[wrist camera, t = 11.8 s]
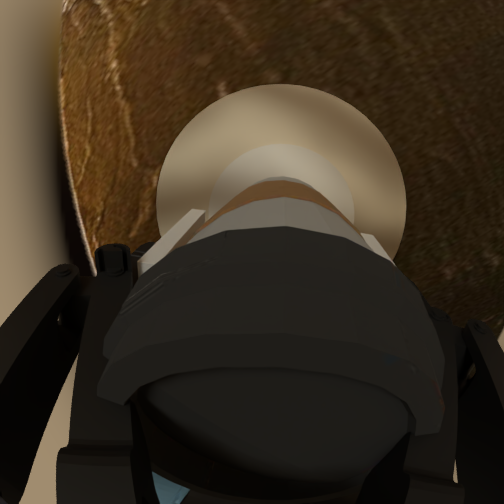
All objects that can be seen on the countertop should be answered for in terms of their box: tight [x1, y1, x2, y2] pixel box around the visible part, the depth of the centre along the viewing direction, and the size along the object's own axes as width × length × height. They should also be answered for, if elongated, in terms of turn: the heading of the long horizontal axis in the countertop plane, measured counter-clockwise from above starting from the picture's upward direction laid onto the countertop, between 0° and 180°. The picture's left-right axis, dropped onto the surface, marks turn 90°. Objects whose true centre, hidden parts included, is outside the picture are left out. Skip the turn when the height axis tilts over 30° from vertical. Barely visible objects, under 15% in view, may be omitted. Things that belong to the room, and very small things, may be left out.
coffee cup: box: [97, 176, 445, 504], centre depth 12 cm, size 8×8×15 cm
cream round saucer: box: [156, 84, 406, 260], centre depth 20 cm, size 18×18×2 cm
